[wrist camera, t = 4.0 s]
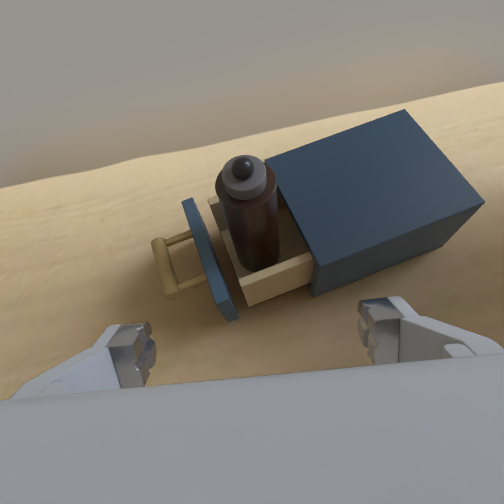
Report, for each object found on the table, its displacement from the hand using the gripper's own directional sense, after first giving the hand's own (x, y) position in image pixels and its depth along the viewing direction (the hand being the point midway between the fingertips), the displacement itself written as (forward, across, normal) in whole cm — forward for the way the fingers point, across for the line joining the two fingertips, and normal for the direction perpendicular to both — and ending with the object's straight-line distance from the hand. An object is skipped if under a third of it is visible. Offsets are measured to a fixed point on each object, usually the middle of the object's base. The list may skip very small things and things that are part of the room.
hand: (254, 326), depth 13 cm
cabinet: (+26, -11, +4) cm, 28 cm away
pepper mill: (+22, 0, +5) cm, 23 cm away
